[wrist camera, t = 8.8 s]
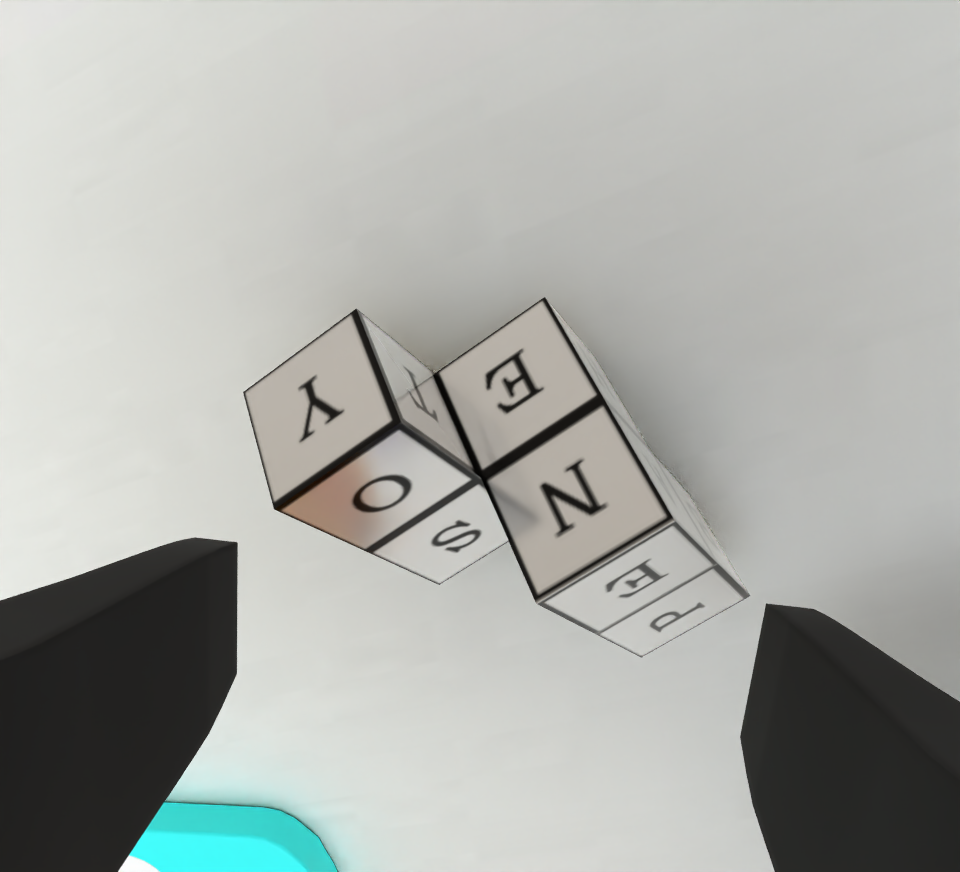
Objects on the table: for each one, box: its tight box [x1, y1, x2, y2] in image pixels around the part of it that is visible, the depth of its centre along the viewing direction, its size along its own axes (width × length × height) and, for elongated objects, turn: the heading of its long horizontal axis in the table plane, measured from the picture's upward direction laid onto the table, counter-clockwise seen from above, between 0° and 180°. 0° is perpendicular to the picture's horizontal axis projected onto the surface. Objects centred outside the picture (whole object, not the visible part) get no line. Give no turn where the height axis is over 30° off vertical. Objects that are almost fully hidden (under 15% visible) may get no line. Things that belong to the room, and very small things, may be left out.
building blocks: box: [243, 297, 750, 657], centre depth 17 cm, size 5×5×8 cm
